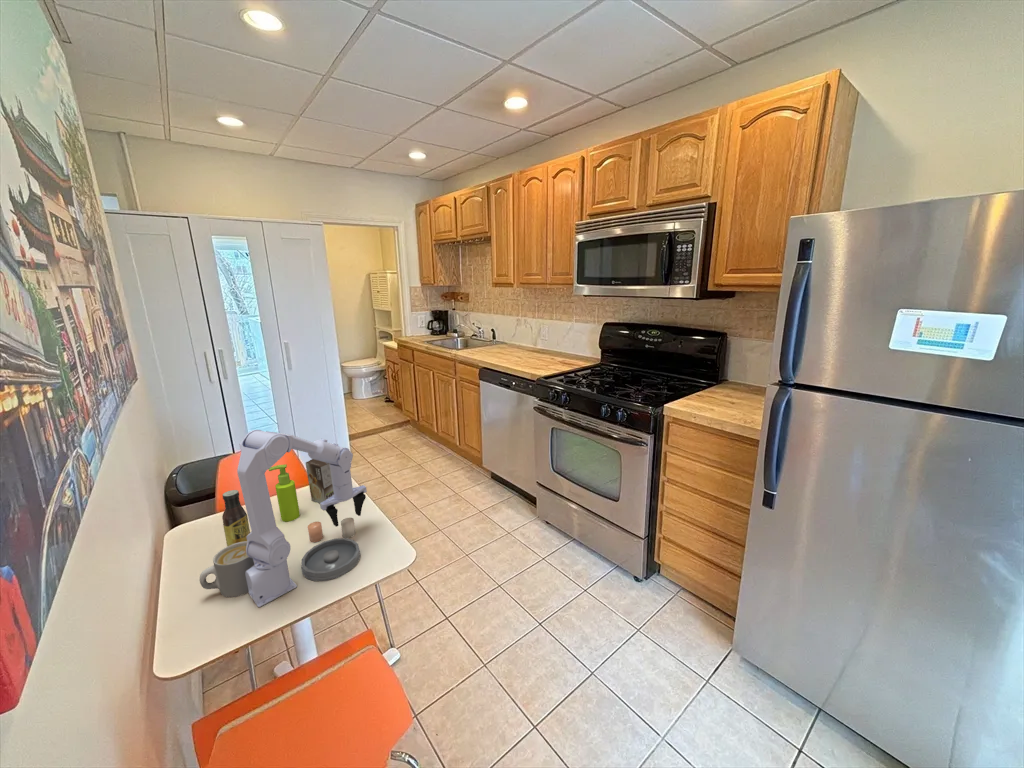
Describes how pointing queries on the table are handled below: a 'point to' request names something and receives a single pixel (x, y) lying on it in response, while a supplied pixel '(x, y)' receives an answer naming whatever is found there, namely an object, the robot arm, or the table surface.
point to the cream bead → (348, 527)
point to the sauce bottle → (234, 519)
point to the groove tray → (332, 569)
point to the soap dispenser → (286, 495)
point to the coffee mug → (229, 571)
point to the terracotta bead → (315, 532)
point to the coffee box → (319, 480)
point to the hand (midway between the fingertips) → (347, 519)
